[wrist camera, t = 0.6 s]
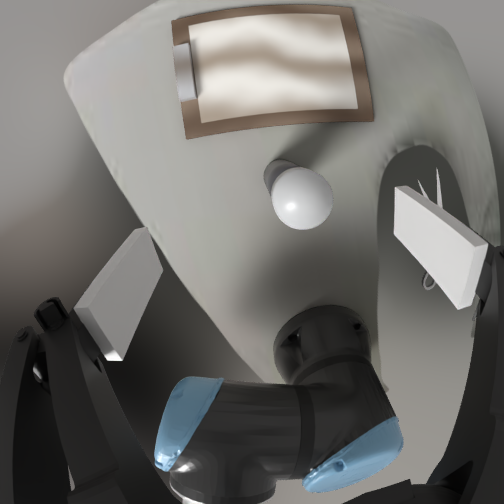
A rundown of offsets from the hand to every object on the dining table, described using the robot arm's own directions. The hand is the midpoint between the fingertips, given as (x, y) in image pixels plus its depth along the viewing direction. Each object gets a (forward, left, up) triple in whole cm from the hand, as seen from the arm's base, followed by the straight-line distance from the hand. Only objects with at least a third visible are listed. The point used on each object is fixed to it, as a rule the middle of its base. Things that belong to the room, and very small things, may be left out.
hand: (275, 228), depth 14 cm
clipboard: (+14, -3, -19) cm, 24 cm away
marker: (0, -2, -19) cm, 19 cm away
